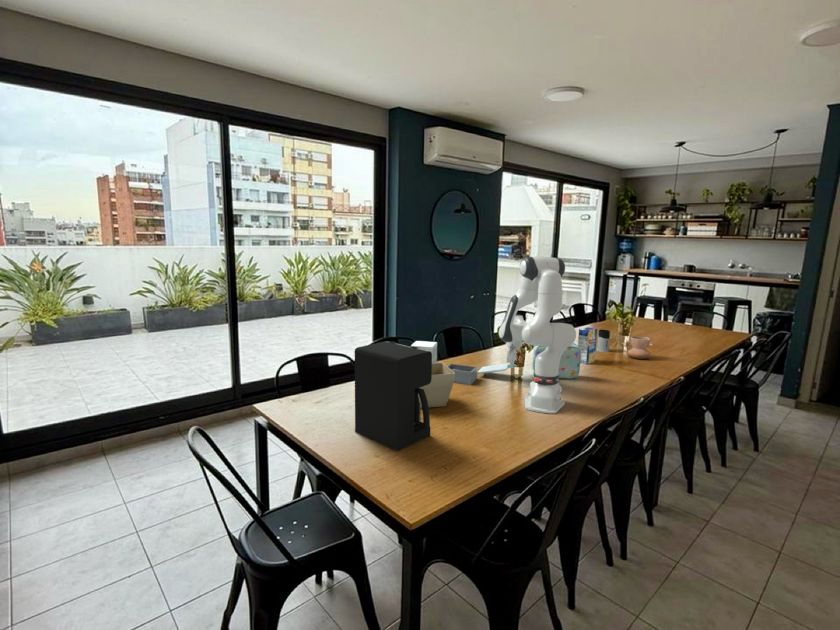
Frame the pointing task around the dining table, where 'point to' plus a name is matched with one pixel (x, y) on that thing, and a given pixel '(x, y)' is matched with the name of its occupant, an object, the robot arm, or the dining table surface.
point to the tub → (464, 373)
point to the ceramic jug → (639, 347)
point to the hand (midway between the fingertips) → (512, 366)
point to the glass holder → (604, 341)
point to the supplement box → (427, 348)
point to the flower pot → (439, 385)
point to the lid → (495, 368)
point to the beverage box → (587, 344)
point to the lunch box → (564, 361)
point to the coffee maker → (392, 393)
